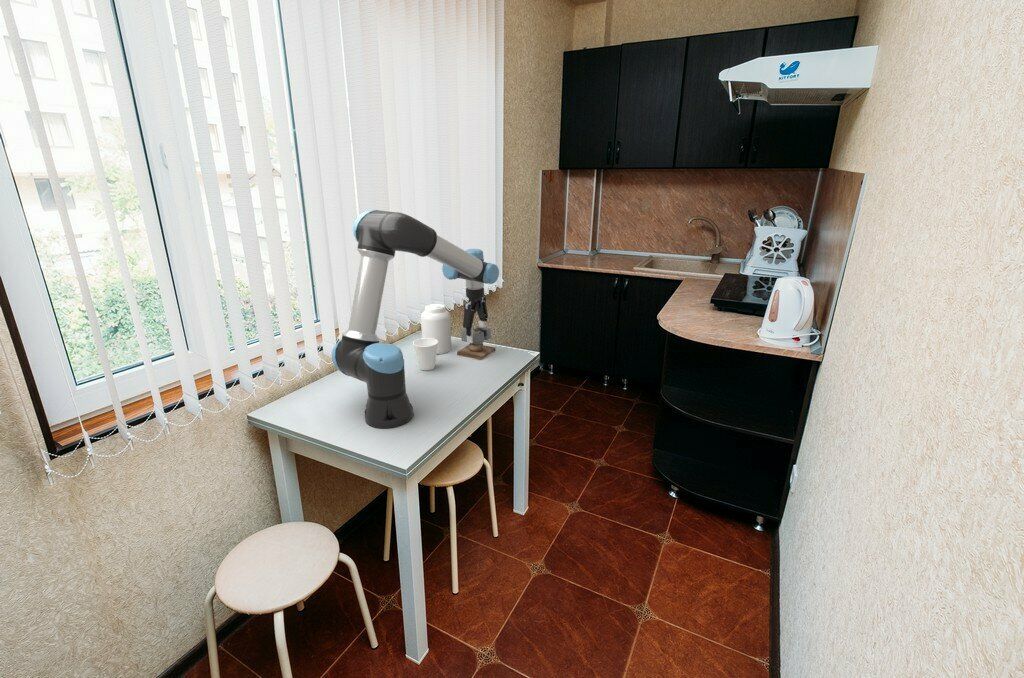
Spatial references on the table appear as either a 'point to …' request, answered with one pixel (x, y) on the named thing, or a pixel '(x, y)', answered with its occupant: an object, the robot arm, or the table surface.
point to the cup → (425, 352)
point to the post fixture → (476, 350)
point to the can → (437, 326)
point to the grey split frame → (477, 335)
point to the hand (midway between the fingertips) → (476, 338)
